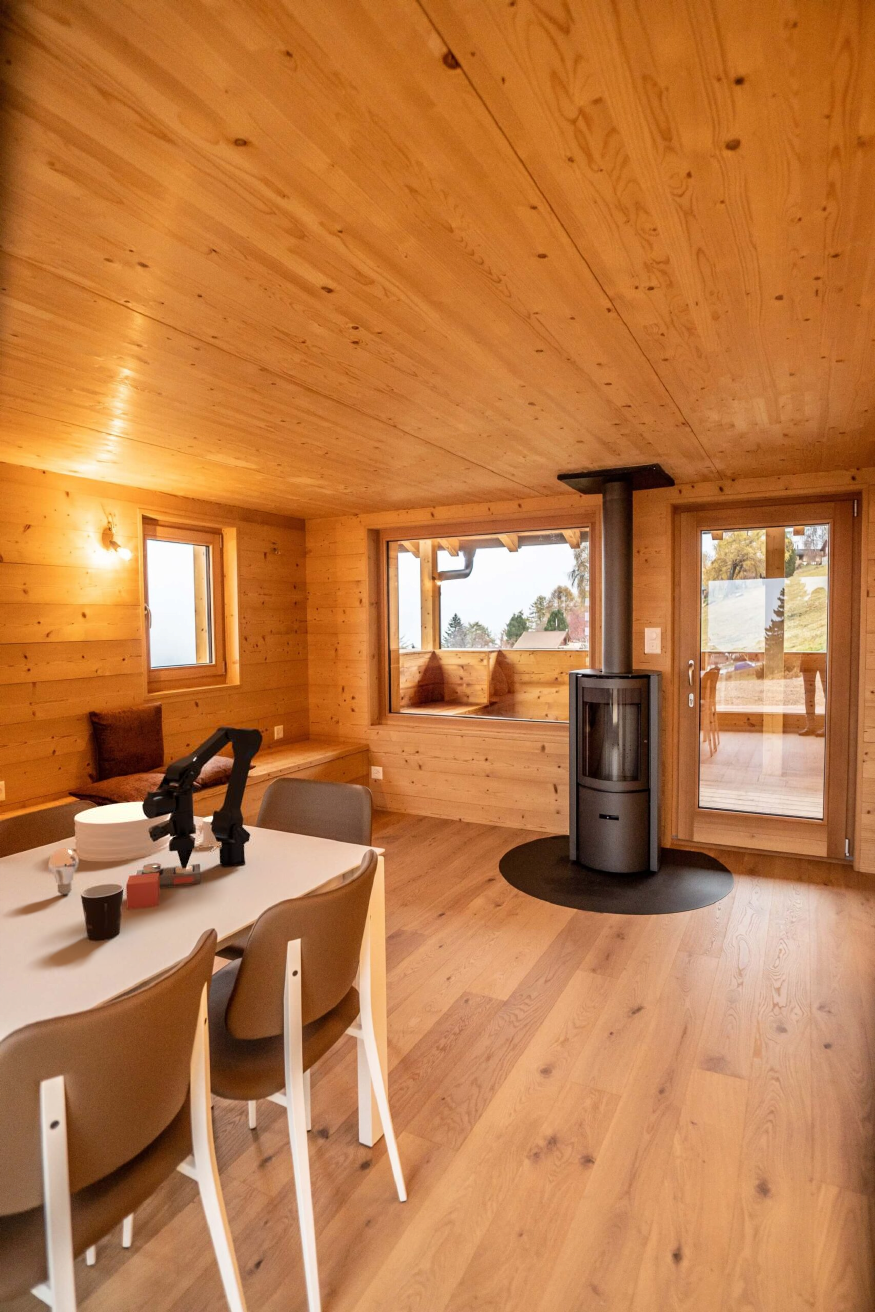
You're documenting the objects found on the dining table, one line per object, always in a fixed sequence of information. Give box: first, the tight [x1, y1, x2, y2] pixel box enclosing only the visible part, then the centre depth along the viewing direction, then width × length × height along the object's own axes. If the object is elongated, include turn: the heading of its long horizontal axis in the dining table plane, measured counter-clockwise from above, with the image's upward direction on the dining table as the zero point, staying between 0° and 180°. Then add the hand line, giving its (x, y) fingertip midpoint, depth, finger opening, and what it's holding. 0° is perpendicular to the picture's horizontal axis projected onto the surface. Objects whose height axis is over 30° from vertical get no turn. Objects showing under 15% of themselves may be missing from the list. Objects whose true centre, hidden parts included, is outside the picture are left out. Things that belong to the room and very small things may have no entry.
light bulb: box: [48, 847, 80, 897], centre depth 188 cm, size 7×7×12 cm
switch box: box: [135, 863, 201, 889], centre depth 196 cm, size 16×8×3 cm, turn 107°
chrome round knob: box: [142, 862, 162, 874], centre depth 194 cm, size 4×4×2 cm
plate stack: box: [73, 801, 173, 862], centre depth 230 cm, size 28×28×12 cm
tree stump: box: [194, 815, 221, 850], centre depth 233 cm, size 20×19×8 cm
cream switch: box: [175, 864, 193, 874], centre depth 197 cm, size 4×4×2 cm
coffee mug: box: [80, 883, 124, 942], centre depth 160 cm, size 12×9×10 cm
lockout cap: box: [125, 873, 161, 910], centre depth 181 cm, size 7×7×6 cm
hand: (184, 867), depth 197 cm, fingers closed, pressing on cream switch
